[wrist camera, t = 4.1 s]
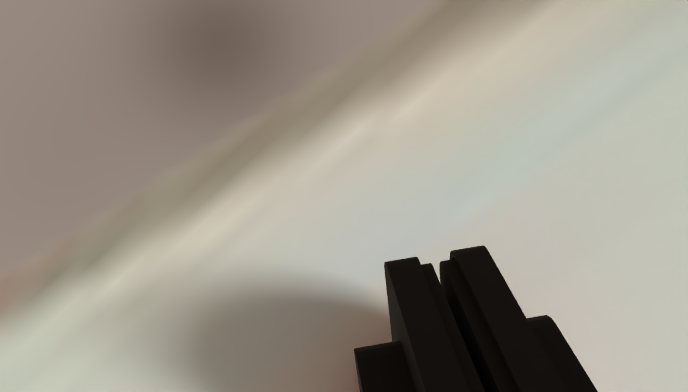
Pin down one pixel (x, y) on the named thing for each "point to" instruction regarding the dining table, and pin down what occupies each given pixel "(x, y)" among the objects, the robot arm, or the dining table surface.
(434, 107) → the dining table surface
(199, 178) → the dining table surface
